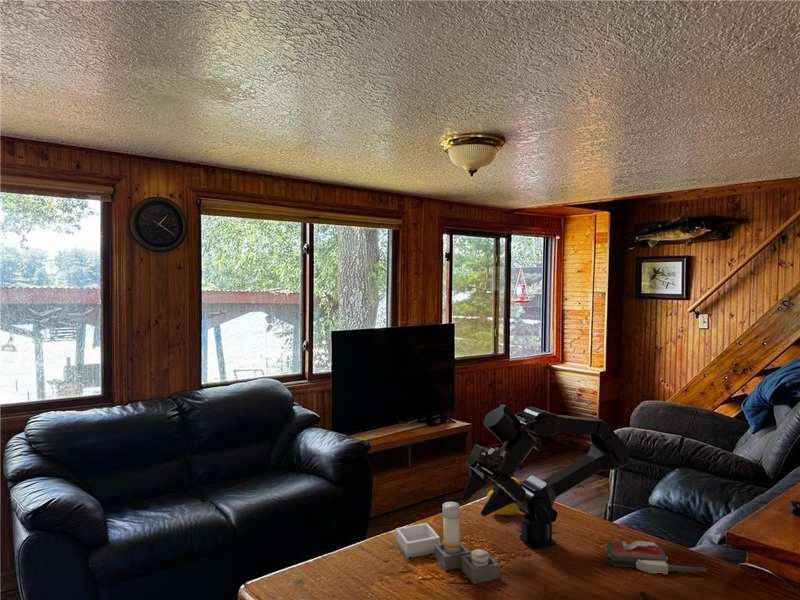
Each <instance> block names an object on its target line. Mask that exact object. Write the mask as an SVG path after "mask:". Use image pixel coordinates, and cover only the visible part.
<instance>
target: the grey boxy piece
mask: <svg viewBox="0 0 800 600" xmlns="http://www.w3.org/2000/svg"><path fill="white" fill-rule="evenodd" d="M460 568H461V571H462V572H463V574H464V575H466V577H467V578H468V579H469V581H470V582H471V583H472V584H474V585H475V584H480V583H484V582H488V581H492V580H498V579H501V578H500V577H501V576H500V575H501V574H500V564H499V562H498V561H497V560H495V559H494V558H493V557H492V555H491V554H489V561H488V565H485V566H481V567H476V568H475V567H474V566H473V565H472V560H471V553H470V555H465V556H461V567H460Z"/></svg>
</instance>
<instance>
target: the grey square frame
mask: <svg viewBox="0 0 800 600" xmlns="http://www.w3.org/2000/svg"><path fill="white" fill-rule="evenodd" d="M434 552H435V553H434V559H435V558H436V559H437V560H436V559H435V560H436V562H438V564H439V563H440V564H439V565H440V566H441V567H442V568H443V570H444V571H449V570H455V569H459V568H461V556H465V555H470V554H471V551H469V550H468V548H467V547H466V546H465V545H464V544H463V543H462V542H461V541H460V553H455V554H450V555H446V554H445V553H444V542H442V543H441V542H440V544H435V545H434Z"/></svg>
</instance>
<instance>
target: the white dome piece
mask: <svg viewBox="0 0 800 600" xmlns="http://www.w3.org/2000/svg"><path fill="white" fill-rule="evenodd" d="M470 554H471V560H472V565H473V566H474V567H475V568H476V567H481V566H485V565H488V561H489V555H490V554H489V552H488V551H486V550H485V549H480V548H479V549H473V550H472V551H470Z"/></svg>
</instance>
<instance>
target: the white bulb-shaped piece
mask: <svg viewBox="0 0 800 600" xmlns="http://www.w3.org/2000/svg"><path fill="white" fill-rule="evenodd" d="M460 510H461V509H460V504H459V503H458V502H455V501H446V502H444V503H442V518H443V520H442V521H443V524H442V525H443V526H442V527H443V543H444V553H445V554H446V555H450V554H455V553H460V542H461V539H460V535H461V534H460V514H461V513H460Z"/></svg>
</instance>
